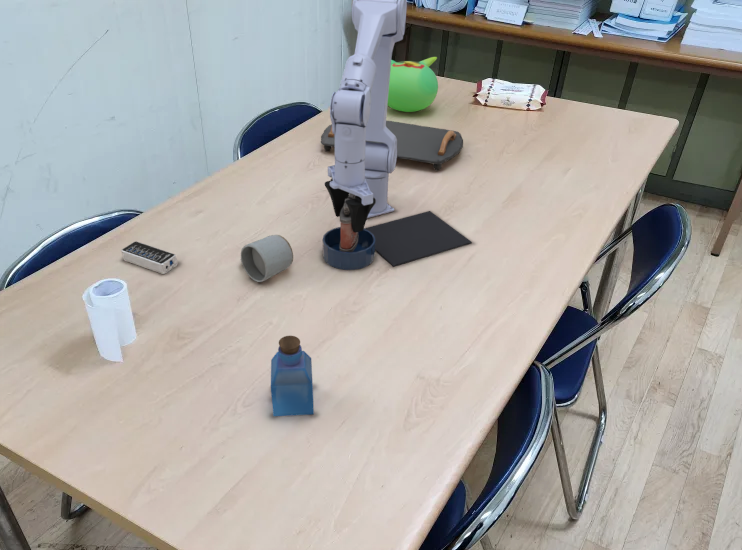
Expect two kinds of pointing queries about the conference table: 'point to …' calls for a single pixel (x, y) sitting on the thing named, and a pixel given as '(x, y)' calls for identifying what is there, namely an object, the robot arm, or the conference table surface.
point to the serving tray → (415, 142)
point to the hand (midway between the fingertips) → (349, 222)
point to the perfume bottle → (291, 379)
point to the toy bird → (412, 85)
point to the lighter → (347, 229)
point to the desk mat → (415, 238)
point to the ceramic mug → (266, 257)
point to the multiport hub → (149, 257)
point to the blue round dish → (348, 260)
